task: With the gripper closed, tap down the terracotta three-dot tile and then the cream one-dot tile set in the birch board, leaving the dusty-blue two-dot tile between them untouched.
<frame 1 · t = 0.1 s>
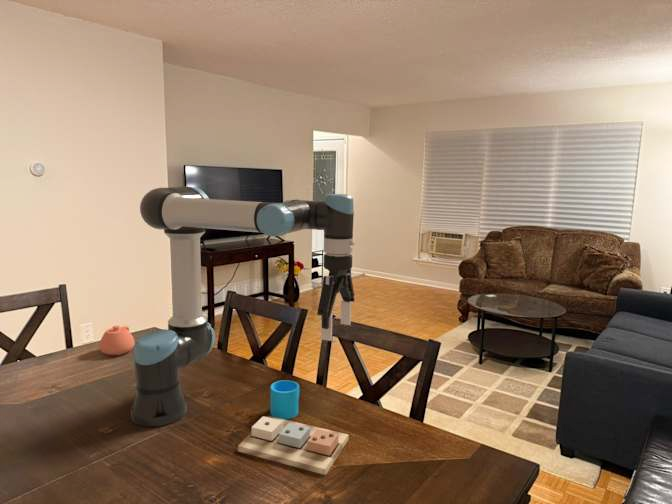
hand: (336, 331, 126), 28 cm above the table, fingers open, 13 cm apart
sugar bowl: (119, 351, 182), on the table
tile one: (267, 427, 124), point 3 cm above the table, slide at 0.0 cm
tile two: (294, 434, 122), point 3 cm above the table, slide at 0.0 cm
board: (294, 445, 122), on the table
tile three: (323, 441, 119), point 3 cm above the table, slide at 0.0 cm
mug: (288, 410, 140), on the table
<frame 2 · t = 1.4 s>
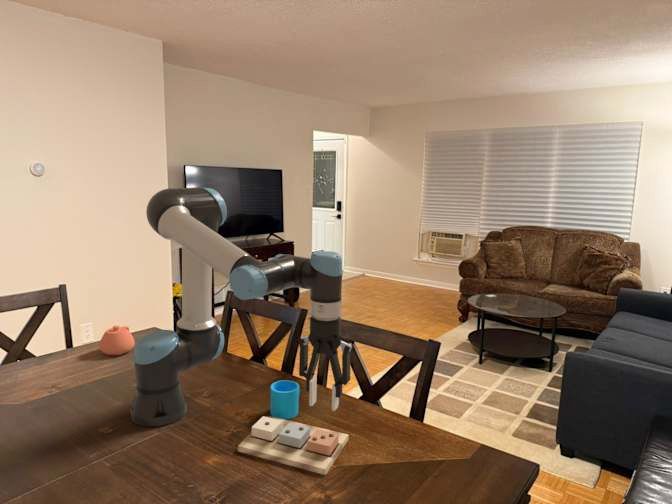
hand: (323, 405, 117), 13 cm above the table, fingers open, 5 cm apart
nothing on the table moved.
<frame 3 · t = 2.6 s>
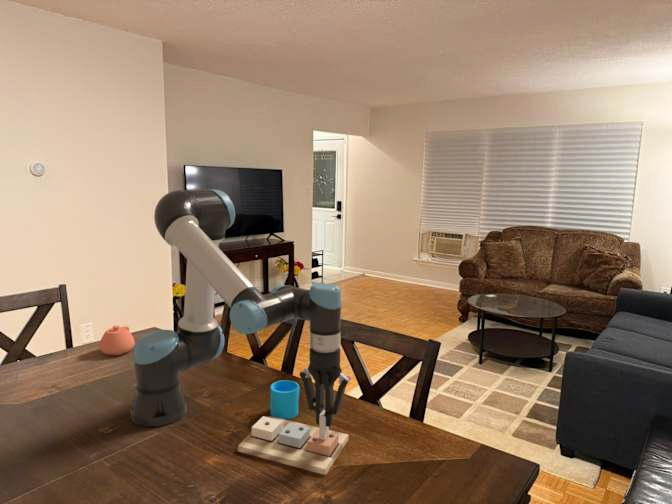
hand: (324, 436, 118), 5 cm above the table, fingers closed
tile three: (323, 442, 119), point 3 cm above the table, slide at 0.1 cm, touching gripper
everything else where it was.
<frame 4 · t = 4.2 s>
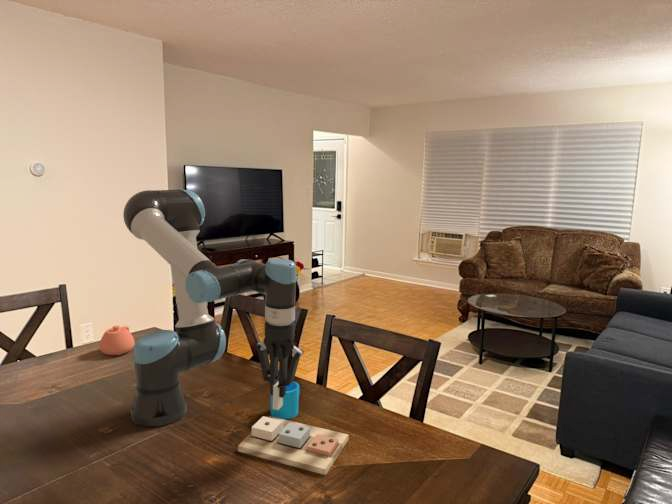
hand: (277, 407, 123), 9 cm above the table, fingers closed
tile three: (323, 446, 119), point 2 cm above the table, slide at 1.5 cm
everything else where it was.
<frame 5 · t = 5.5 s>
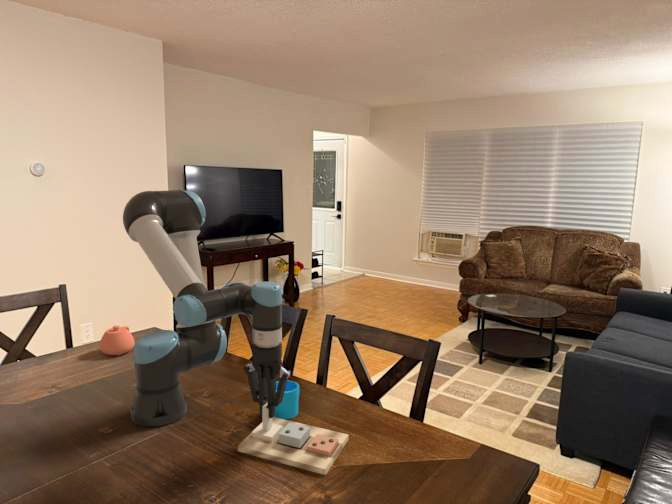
hand: (267, 427, 124), 3 cm above the table, fingers closed
tile one: (267, 433, 125), point 2 cm above the table, slide at 1.5 cm, touching gripper
everything else where it was.
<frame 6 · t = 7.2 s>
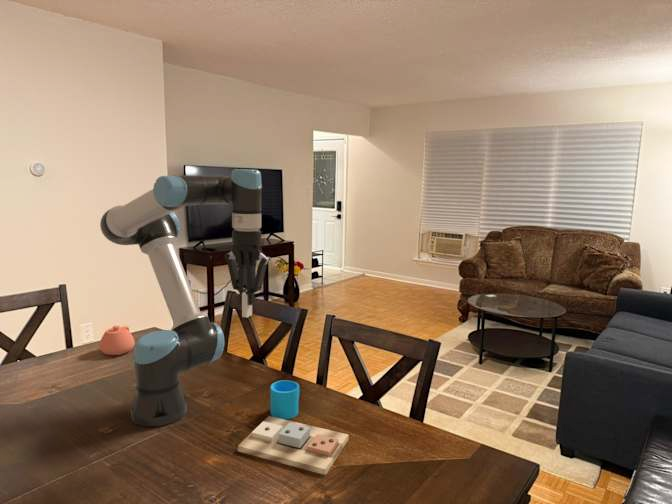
hand: (247, 315, 127), 31 cm above the table, fingers closed
tile one: (267, 433, 125), point 2 cm above the table, slide at 1.5 cm
everything else where it was.
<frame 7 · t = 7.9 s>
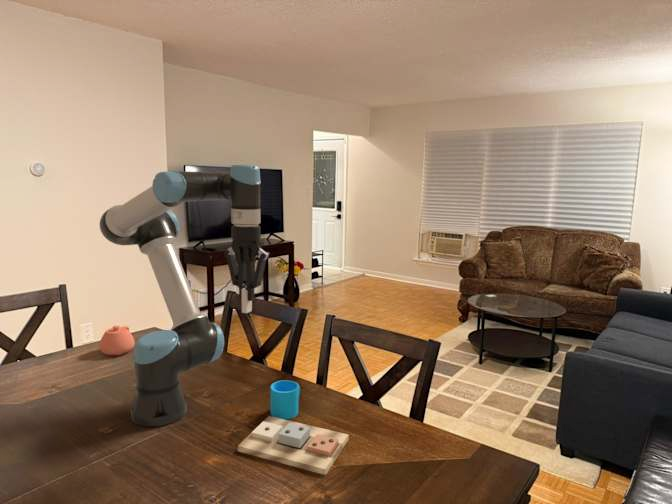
hand: (246, 311, 127), 32 cm above the table, fingers closed
nothing on the table moved.
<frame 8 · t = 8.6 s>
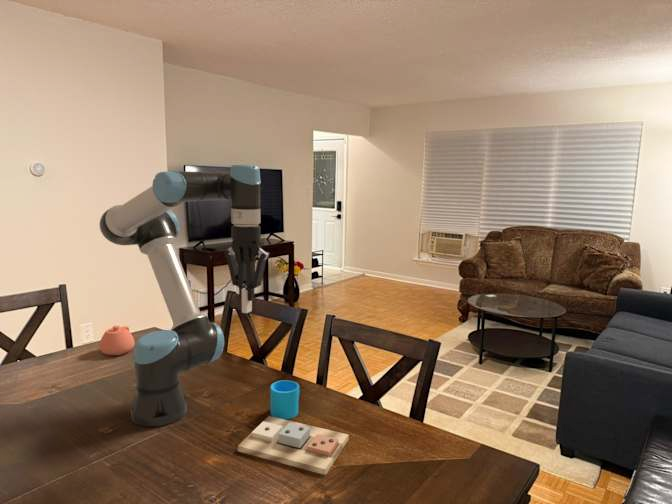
hand: (246, 311, 127), 32 cm above the table, fingers closed
nothing on the table moved.
at the end: tile three slide at 1.5 cm; tile one slide at 1.5 cm; tile two slide at 0.0 cm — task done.
